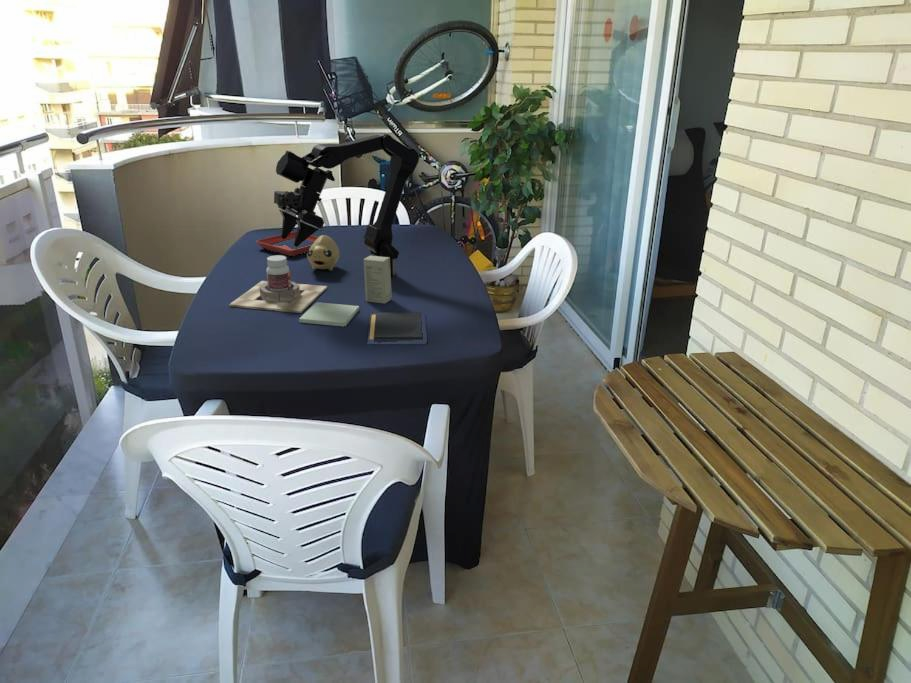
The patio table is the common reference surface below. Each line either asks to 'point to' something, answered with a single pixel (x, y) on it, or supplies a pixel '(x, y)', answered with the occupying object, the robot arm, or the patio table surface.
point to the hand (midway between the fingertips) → (289, 242)
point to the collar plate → (279, 297)
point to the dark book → (395, 326)
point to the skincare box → (377, 279)
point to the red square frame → (284, 249)
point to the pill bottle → (278, 274)
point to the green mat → (329, 314)
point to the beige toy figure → (323, 253)
